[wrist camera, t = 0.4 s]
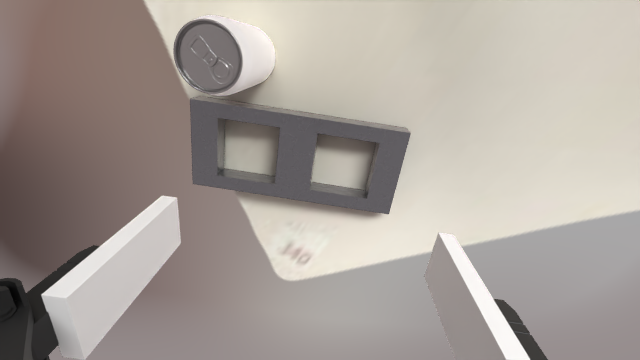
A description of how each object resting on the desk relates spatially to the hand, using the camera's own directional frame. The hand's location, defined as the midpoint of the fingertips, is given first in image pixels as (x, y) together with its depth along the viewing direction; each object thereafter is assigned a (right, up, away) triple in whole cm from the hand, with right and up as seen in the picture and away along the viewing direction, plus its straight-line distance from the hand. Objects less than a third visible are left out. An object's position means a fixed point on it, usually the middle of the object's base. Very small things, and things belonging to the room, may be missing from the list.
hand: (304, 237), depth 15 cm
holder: (-2, +6, +24) cm, 25 cm away
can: (-8, +17, +20) cm, 28 cm away
